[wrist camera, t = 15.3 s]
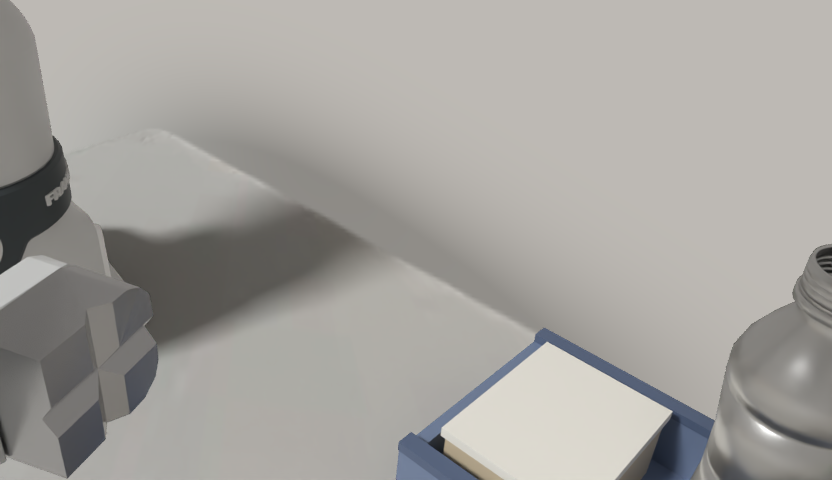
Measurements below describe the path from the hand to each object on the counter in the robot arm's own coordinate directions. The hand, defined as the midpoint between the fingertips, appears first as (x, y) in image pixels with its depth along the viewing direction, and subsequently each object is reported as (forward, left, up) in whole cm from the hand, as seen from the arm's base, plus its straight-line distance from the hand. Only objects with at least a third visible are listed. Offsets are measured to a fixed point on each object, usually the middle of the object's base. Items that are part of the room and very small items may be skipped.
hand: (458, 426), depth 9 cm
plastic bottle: (-7, +23, -28) cm, 37 cm away
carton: (-17, +20, -28) cm, 38 cm away
